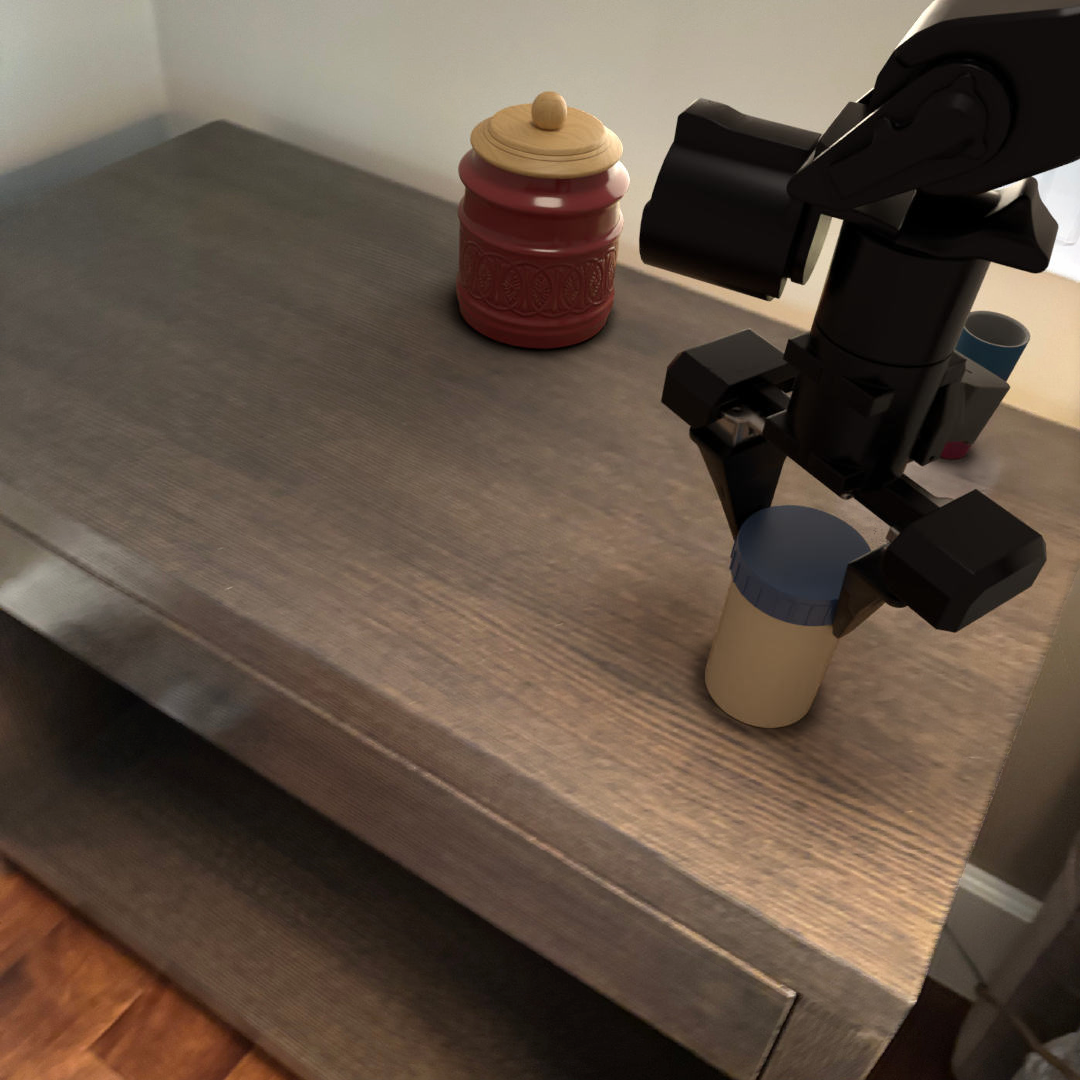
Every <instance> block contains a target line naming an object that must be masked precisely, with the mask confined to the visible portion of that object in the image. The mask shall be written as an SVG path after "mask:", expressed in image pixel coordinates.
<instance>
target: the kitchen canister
mask: <svg viewBox="0 0 1080 1080" xmlns="http://www.w3.org/2000/svg"><path fill="white" fill-rule="evenodd" d="M469 141H470V145H471V147H472V148H470V149H469V150H468V151H466V152H465V154H463V156H461V158H460V161H459V163H458V166H457V172H458V173H457V174H458V177H459V179H460V181H461V184H463V186H464V194H463V196H462V197H461V199H460V201H459V203H458V205H457V216H458V220H459V238H458V270H457V273H456V278H455V284H456V286H455V293H456V298H457V301H458V307H459V312H460V314H461V316H462V318H463V319H464V321H466V323H467V324H468V325H469V326H470V327H472V329H474V330H476V331H477V332H478V333H480V334H481V335H484V336H485V337H487V338H490V339H491V340H494V341H496V342H499V343H503V344H506V345H509V346H515V347H520V348H527V349H556V348H557V349H558V348H562V347H563V348H565V347H568V346H573V345H576V344H579V343H583V342H584V341H586V340H589V339H591V338H592V337H594V336H595V335H597V334H598V333H599V332H600V331H601V330H602V329H603V328H604V327H605V325H606V323H607V321H608V319H609V315H610V313H611V311H612V309H613V305H614V298H615V292H616V290H615V283H614V282H615V276H616V268H617V261H618V260H617V259H618V254H619V247H620V239H621V234H622V233H623V231H624V226H625V218H624V215H623V212H622V210H621V200H622V199H623V198H624V197H625V195H626V194H627V193H628V191H629V188H630V185H631V184H630V183H631V178H630V174H629V171H628V170H627V168H626V167H625V165H623V163H622V162H621V161H620V160H621V158H622V156H623V152H624V150H623V149H624V147H623V143H622V141H621V139H620V138H619V137H618V135H616V133H615V132H613V131H612V130H611V129H609V128H608V127H607V126H605V125H604V123H603V122H601V120H600V119H598V118H597V117H596V116H594V115H593V114H590V113H588V112H586V111H583V110H582V109H579V108H575V107H571V106H567V102H566V100H565V98H564V97H563V96H562V95H561V94H560V93H558V92H555V91H553V90H552V91H551V90H547V91H543V92H540V93H539V94H537V96H535V98H534V100H533V102H531V103H520V104H516V105H511V106H508V107H504V108H502V109H500V110H498V111H496V113H494V114H493V115H492V116H490V117H487V118H485V119H484V120H482V121H480V122H478V123H477V125H475V126H474V127H473V128H472V130H471V132H470V136H469Z"/></svg>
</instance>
